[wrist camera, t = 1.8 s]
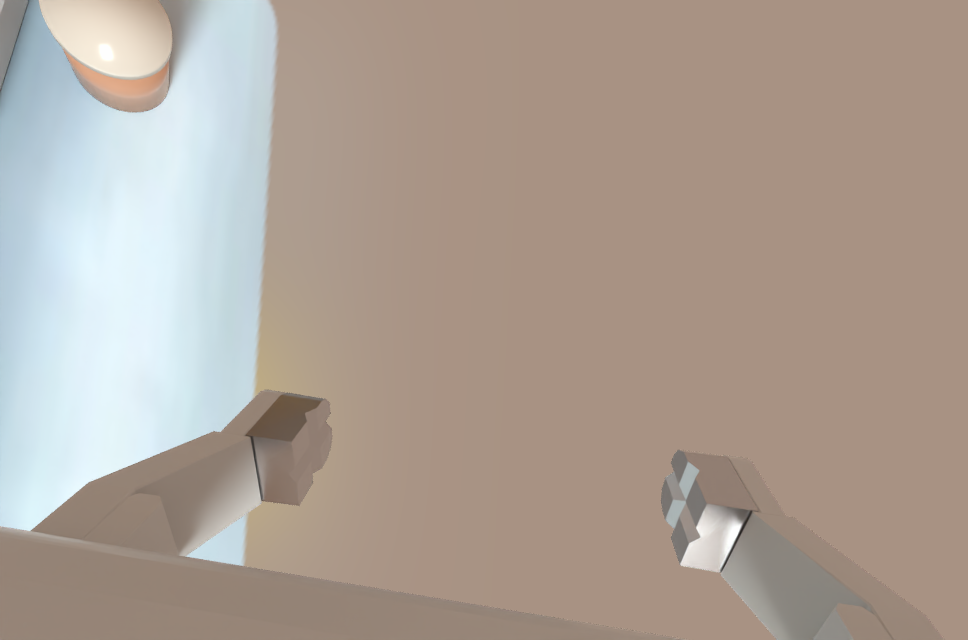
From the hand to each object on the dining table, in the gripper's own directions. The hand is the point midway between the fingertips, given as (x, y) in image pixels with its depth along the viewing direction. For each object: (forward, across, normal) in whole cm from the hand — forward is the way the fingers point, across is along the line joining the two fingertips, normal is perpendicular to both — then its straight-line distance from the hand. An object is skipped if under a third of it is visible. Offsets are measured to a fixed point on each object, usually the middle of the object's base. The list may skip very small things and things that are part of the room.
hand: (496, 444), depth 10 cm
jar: (+31, +35, -7) cm, 48 cm away
